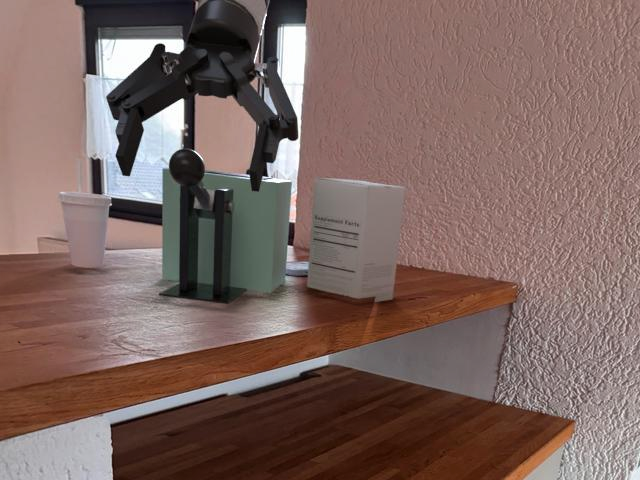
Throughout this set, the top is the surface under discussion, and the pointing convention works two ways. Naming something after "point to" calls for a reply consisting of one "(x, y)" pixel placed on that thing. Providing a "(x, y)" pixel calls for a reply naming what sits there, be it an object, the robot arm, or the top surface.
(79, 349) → the top surface
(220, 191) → the lever bracket
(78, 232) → the smoothie
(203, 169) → the lever
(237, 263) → the grey-green box
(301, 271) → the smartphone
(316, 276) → the rectangular carton
